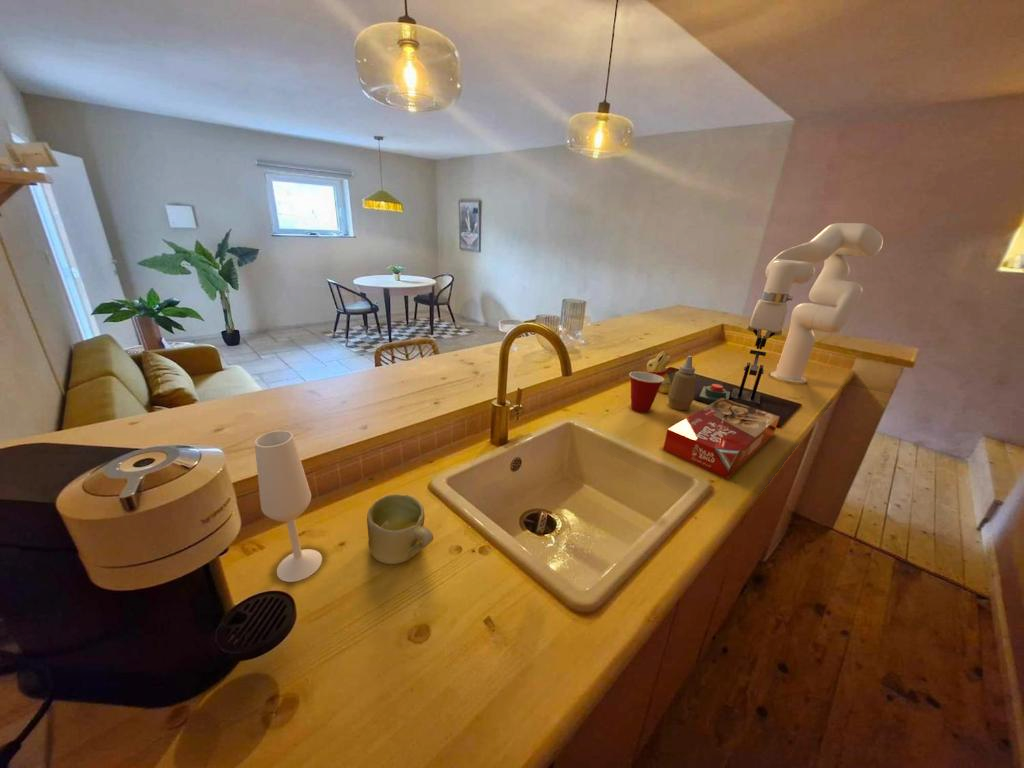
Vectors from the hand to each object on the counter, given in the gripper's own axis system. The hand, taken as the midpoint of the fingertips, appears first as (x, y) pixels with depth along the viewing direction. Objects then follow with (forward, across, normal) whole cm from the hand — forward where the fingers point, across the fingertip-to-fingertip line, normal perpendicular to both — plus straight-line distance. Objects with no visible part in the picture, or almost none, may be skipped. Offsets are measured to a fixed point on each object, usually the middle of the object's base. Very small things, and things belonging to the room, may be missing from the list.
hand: (758, 348), depth 142 cm
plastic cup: (+18, +29, +43) cm, 55 cm away
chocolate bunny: (+17, +29, +22) cm, 40 cm away
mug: (+18, +48, +129) cm, 139 cm away
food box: (+18, +4, +51) cm, 54 cm away
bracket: (+17, 0, +9) cm, 19 cm away
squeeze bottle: (+17, +19, +33) cm, 42 cm away
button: (+14, +9, +18) cm, 24 cm away
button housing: (+17, +9, +18) cm, 26 cm away
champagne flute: (+18, +59, +141) cm, 154 cm away
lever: (+5, 0, +4) cm, 7 cm away
